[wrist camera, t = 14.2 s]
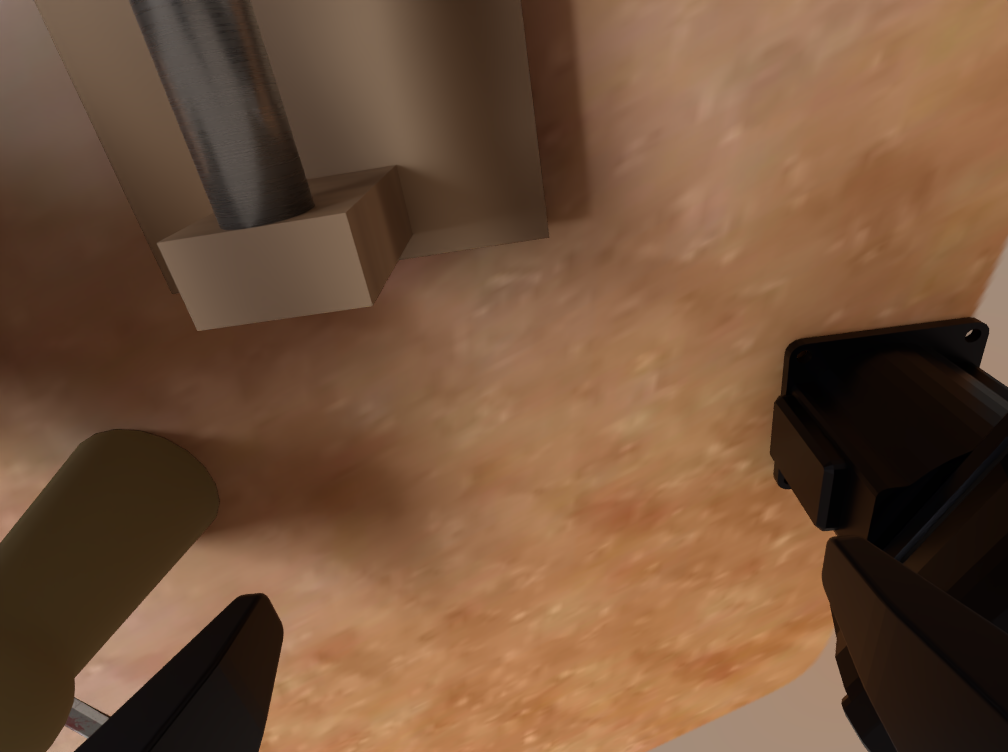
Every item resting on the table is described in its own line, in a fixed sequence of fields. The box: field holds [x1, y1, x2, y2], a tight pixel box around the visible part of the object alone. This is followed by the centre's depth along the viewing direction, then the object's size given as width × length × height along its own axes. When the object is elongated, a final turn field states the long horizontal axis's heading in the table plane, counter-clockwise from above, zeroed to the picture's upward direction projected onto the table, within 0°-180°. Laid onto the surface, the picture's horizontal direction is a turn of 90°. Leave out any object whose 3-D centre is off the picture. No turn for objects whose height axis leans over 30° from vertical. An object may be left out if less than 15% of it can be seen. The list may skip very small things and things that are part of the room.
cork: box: [0, 429, 219, 752], centre depth 19 cm, size 6×6×11 cm
